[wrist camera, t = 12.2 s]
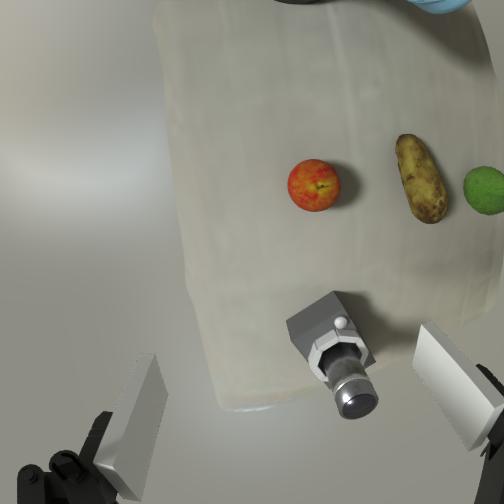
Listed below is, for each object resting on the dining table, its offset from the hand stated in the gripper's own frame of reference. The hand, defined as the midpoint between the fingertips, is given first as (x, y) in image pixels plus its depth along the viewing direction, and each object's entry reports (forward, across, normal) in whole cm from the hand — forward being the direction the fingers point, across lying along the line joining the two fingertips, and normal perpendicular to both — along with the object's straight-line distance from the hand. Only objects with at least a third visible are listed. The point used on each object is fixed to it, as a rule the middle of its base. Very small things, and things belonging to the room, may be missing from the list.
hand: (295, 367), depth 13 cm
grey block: (+32, +10, -20) cm, 39 cm away
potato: (+32, +24, +6) cm, 40 cm away
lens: (+26, +10, -20) cm, 34 cm away
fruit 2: (+32, +38, +4) cm, 50 cm away
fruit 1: (+32, +7, +5) cm, 33 cm away
